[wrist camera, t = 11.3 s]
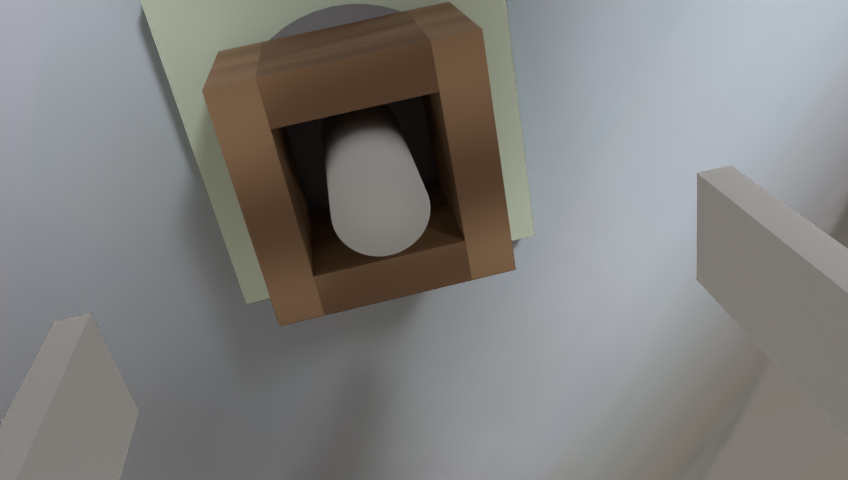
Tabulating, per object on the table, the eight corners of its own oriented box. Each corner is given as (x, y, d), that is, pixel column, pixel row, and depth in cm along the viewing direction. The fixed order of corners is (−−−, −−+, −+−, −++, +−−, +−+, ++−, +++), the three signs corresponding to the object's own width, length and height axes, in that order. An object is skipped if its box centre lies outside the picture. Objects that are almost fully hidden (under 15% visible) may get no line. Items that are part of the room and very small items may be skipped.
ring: (218, 51, 25) (202, 90, 20) (449, 1, 25) (482, 28, 21) (281, 255, 28) (279, 326, 24) (481, 208, 29) (515, 269, 24)
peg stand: (144, -6, 25) (82, 45, 17) (489, -79, 25) (568, -59, 18) (247, 291, 30) (233, 424, 23) (527, 225, 31) (600, 334, 24)
